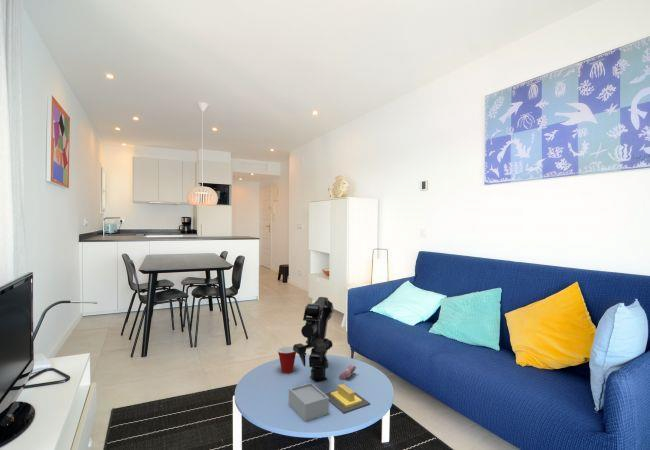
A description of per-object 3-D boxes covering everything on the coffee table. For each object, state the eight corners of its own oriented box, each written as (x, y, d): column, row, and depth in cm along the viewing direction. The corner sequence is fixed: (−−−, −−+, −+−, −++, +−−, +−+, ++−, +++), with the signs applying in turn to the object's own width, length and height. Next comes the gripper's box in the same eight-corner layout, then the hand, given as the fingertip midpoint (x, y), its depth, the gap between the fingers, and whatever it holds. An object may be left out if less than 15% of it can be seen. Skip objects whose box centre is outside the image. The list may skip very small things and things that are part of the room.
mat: (347, 388, 161) (347, 386, 161) (370, 404, 147) (370, 403, 147) (322, 395, 154) (322, 394, 154) (343, 413, 139) (343, 412, 139)
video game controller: (344, 383, 169) (350, 372, 167) (337, 377, 171) (343, 366, 169) (353, 376, 177) (359, 365, 176) (346, 370, 179) (352, 360, 178)
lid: (345, 390, 158) (345, 380, 158) (361, 402, 147) (362, 392, 147) (330, 394, 153) (330, 385, 153) (346, 407, 143) (346, 397, 143)
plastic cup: (292, 365, 186) (292, 343, 186) (300, 372, 177) (301, 350, 177) (273, 369, 181) (273, 346, 181) (281, 377, 172) (281, 353, 172)
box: (310, 397, 152) (311, 382, 152) (328, 413, 139) (328, 397, 139) (288, 404, 146) (289, 388, 146) (305, 421, 133) (305, 404, 133)
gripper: (303, 339, 148) (303, 374, 148) (339, 332, 158) (338, 366, 158) (292, 332, 157) (292, 365, 157) (326, 326, 167) (326, 357, 167)
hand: (312, 363), depth 160 cm, fingers open, 9 cm apart
